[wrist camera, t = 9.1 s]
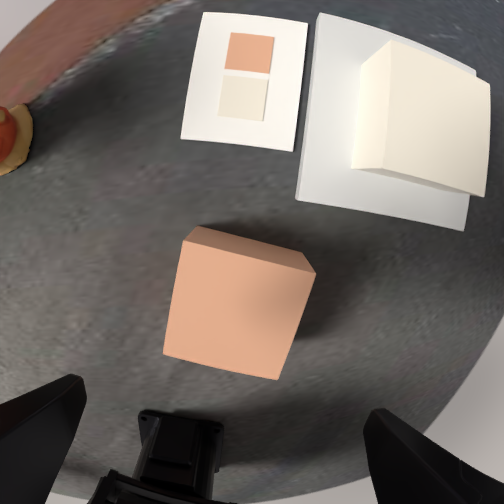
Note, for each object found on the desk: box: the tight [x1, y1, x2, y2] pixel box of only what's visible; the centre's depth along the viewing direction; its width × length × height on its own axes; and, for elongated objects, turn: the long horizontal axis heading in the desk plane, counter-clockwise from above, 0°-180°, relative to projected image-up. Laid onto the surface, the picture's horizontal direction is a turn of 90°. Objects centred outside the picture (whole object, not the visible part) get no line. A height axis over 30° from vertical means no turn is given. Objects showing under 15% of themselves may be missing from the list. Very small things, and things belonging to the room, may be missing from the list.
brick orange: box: [163, 226, 316, 380], centre depth 16 cm, size 6×6×4 cm
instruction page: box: [181, 12, 308, 152], centre depth 15 cm, size 8×6×1 cm
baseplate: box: [295, 13, 476, 231], centre depth 15 cm, size 11×11×1 cm
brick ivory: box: [351, 40, 490, 197], centre depth 13 cm, size 6×6×4 cm
